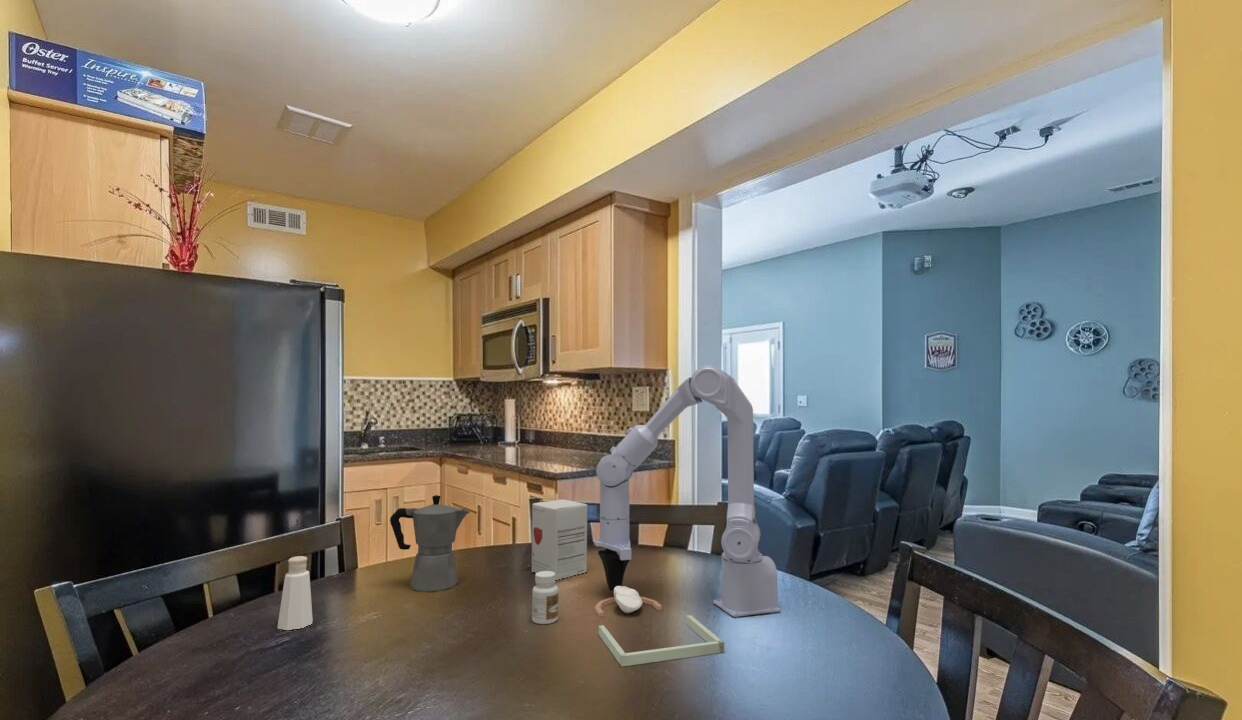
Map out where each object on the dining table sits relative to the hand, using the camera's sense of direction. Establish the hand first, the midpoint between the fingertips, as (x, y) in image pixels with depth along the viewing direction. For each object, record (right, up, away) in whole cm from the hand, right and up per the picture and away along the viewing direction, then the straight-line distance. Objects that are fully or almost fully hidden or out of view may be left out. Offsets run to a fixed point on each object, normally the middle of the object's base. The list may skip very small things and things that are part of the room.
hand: (614, 589), depth 114 cm
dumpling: (+3, -1, -8) cm, 9 cm away
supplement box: (-12, -3, +15) cm, 20 cm away
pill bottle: (-12, -1, -13) cm, 17 cm away
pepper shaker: (-53, 0, -15) cm, 55 cm away
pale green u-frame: (+7, 0, -22) cm, 24 cm away
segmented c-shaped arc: (+2, -1, -6) cm, 6 cm away
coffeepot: (-38, -2, +6) cm, 38 cm away
